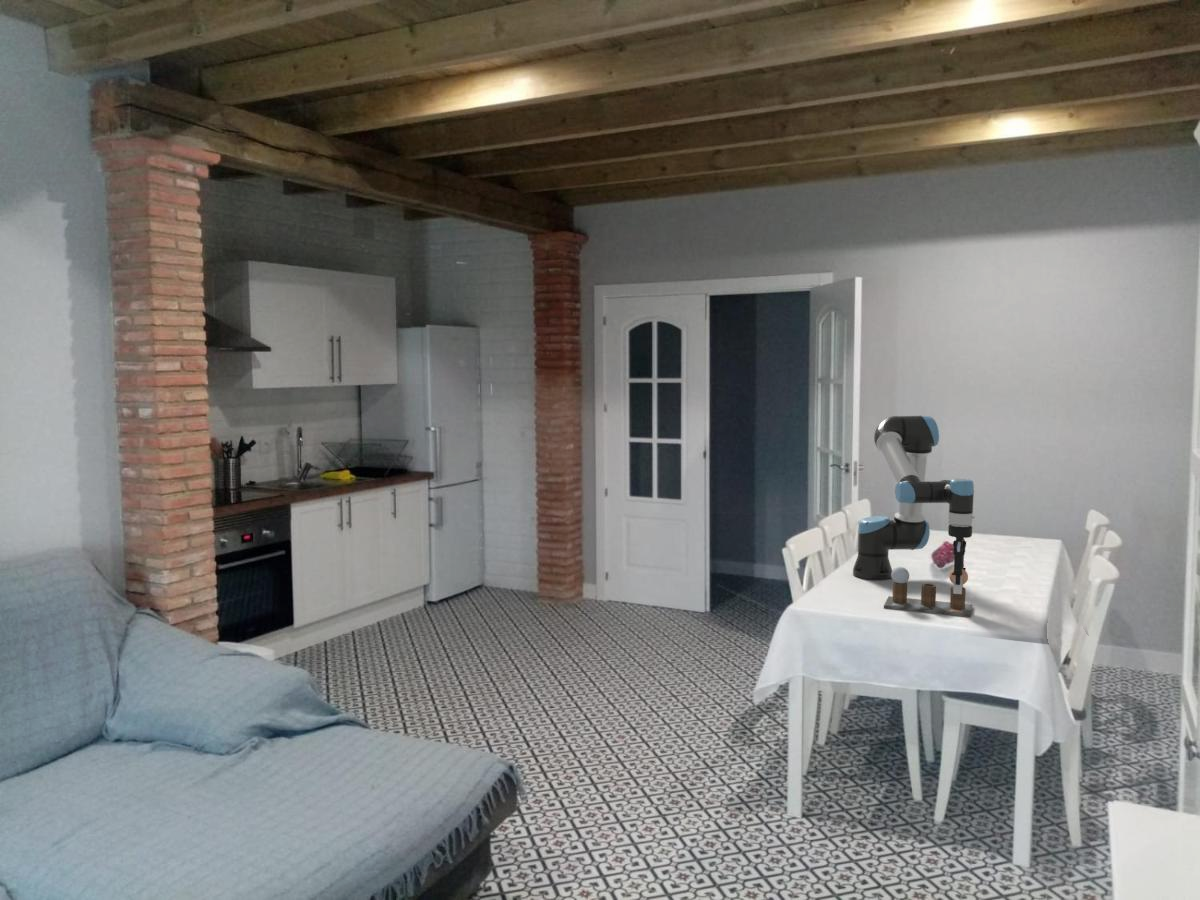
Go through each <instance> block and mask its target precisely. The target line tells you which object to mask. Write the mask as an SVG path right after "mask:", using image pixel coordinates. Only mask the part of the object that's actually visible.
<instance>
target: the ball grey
mask: <svg viewBox="0 0 1200 900" xmlns="http://www.w3.org/2000/svg"><path fill="white" fill-rule="evenodd" d="M891 576H892V578H891V579H892V582H896V583H898V584H904V583H908V581H909V580H910V572H909V571H908V569H907V568H905V567H903V566H896V567H895V568H894V569H892V574H891Z"/></svg>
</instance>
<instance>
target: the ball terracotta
mask: <svg viewBox="0 0 1200 900" xmlns="http://www.w3.org/2000/svg"><path fill="white" fill-rule="evenodd" d="M953 572H954V568H953V569H951V571H949V576H948V577H949V581H950V582H951V583H952V584H953V583H954V575H952V573H953ZM968 580H969V575H968V573H967V571H966V570H964V569H962V585H963V586H964V585H965V584H966V583H967V582H968Z"/></svg>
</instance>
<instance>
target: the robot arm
mask: <svg viewBox="0 0 1200 900" xmlns="http://www.w3.org/2000/svg"><path fill="white" fill-rule="evenodd" d="M873 439H874V440H873V441H874V444H875V447H876V448H877V450H878V451H879V452H880V453H882V455H883V457H884V459H885V461H886V462H887V465H888V467H889V469H890V471H891V473H892V475H893V477H894V480H895V481H896V484H895V488H894V495H895V499H896V501H897V502H898V503H899V505H898V511H897V512H895V514H894V515H893V516H894V519H892V520H891V518H889V517H888V516H885V515H875V516H869V517H863V518H862V519H861V520H860V521H858V529H857V534H858V537H857V540H858V542H857V556H856V559H855V563H854V565H853V569H852V575H853V576H854V577H856V578H860V579H865V580H875V581H878V580H888V579H892V576H891V574H892V571H893V568H892V565H891V562H890V559H889V551H890V550H891V551H892V550H894V551H895V550H896V551H897V550H900V551H901V550H910V551H914V550H921V549H923V548H925V546H927V545H928V542H929V539H930V534H931V533H930V532H931V531H930V524H929V521H927V520H926V517H925V515H924V514H923V513H922V512H923V504H948V505H949V507H948V508H949V509H948V532H947V533H948V536H950V537H952V538H955V540H953V542H952V543H953V544H952V546H953V555H954V561H953V562H954V563H953V564H954V565H953V569H954V572H953V573H952V575H954V583H952V584H953V586H952V587H953V594H962V587H963V588H964V584H963V585H962V569H964V570H965V571H966V567H965V565H964V564H965V555H966V554H965V553H966V547H967V541H966V540H965V539H969V538H971V537H973V526H972V525H973V519H975V516H974V515H973V513H974V512H973V511H974V494H975V489H974V488H975V487H974V482H973V480H971V479H966V478H953V479H951V480H950V479H942V480H939V481H926V472H927V471H926V470H927V469H926V468H927V461H928V460H927V459H928V456H929V455H930V454H931V453H932V451H933V447H936V446H938V444H939V441H940V434H939V427H938V424H937V422H936V420H935V419H934V417H932V416H927V415H926V416H925V415H906V416H905V415H900V416H899V415H894V416H893V415H892V416H889V417H886V418H884V419H883V420H882V421H881V422H880V423H879V424H878V425H877V427H876V429H875V431H874V436H873Z"/></svg>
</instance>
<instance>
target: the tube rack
mask: <svg viewBox="0 0 1200 900" xmlns="http://www.w3.org/2000/svg"><path fill="white" fill-rule="evenodd" d="M966 589H967V588H965V587H964V586H963V587H962V594H953V586H951V587H950V597H949V598H950V599H949V601H941V600H940V601H939V600H937V599H936V598H937V585H935V584H933V583H923V584H921V589H920V592H921V593H920V594H921V595H920V599H919V598H910V597H908V582H906V583H904V584H898V583H896V582H894V581H892V596H890V595H889V596H888V597H887V598H886V601H885V602H884V604H883V609H890V610H899V611H907V612H918V613H927V614H937V615H944V616H945V615H946V616H947V615H948V616H955V617H964V618H972V613H973V612H972V611H973V604H970V603H966V592H967V591H966Z"/></svg>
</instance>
